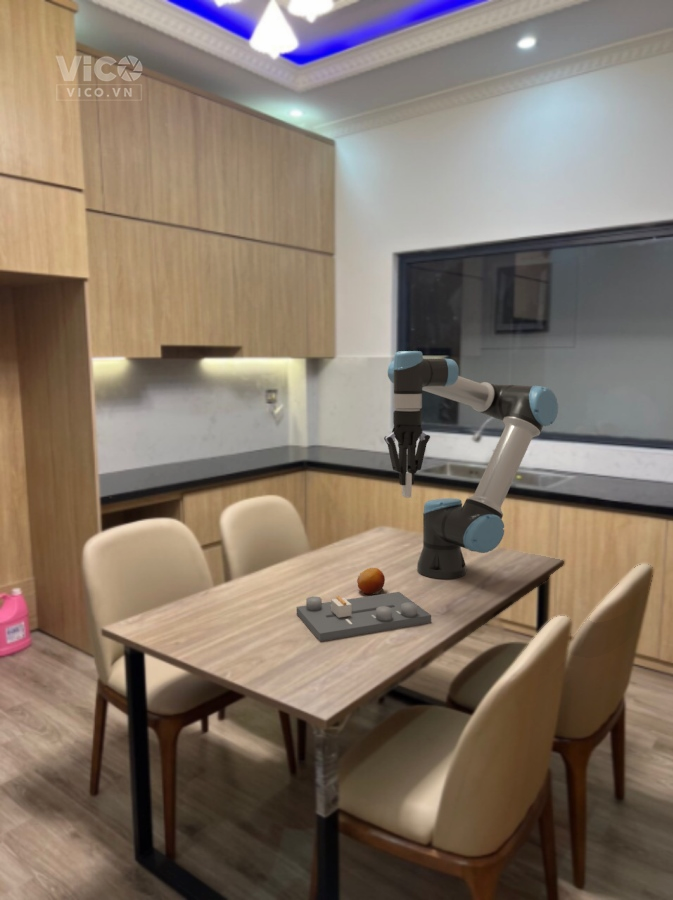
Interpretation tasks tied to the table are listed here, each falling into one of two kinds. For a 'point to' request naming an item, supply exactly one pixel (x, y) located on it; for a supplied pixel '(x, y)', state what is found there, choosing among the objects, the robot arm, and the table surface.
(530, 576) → the table surface
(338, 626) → the console
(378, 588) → the fruit
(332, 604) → the fader
